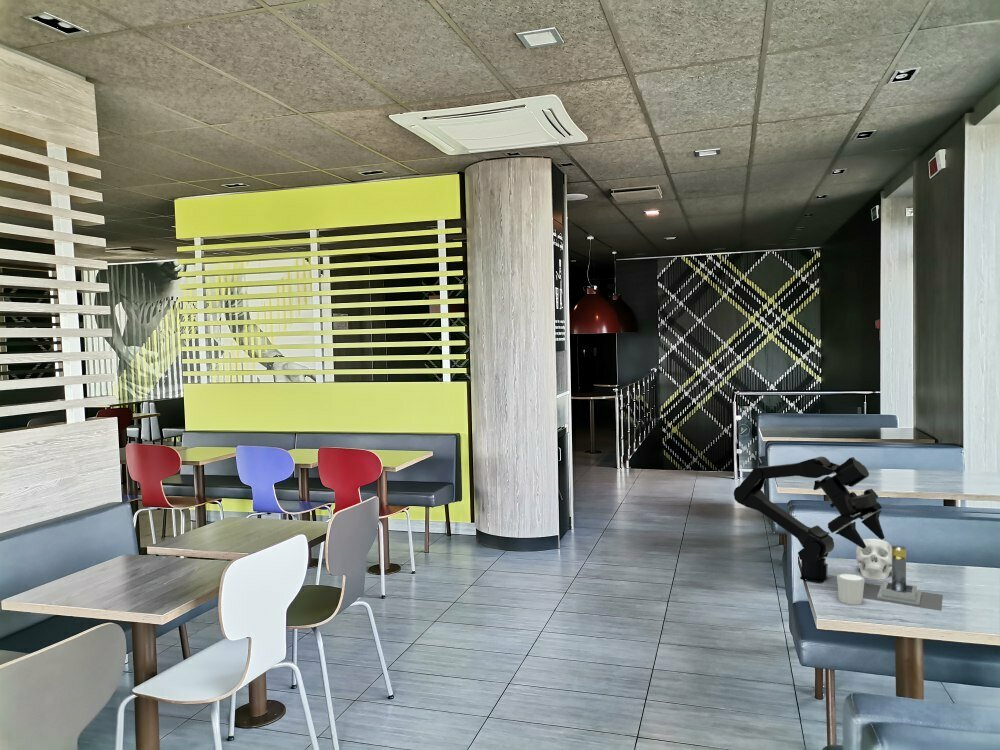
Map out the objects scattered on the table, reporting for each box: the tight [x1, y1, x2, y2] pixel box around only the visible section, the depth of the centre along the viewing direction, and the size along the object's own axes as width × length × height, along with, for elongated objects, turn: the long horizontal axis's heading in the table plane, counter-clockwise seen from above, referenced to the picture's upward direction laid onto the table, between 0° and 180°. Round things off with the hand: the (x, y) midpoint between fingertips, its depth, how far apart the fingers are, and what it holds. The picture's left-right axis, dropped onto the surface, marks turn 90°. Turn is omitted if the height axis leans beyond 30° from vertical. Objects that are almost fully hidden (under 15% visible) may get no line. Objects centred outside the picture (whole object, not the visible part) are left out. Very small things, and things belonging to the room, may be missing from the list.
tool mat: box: [863, 582, 944, 612], centre depth 201 cm, size 22×14×1 cm, turn 57°
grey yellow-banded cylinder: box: [891, 545, 907, 592], centre depth 199 cm, size 4×4×13 cm
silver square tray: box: [877, 581, 922, 606], centre depth 200 cm, size 10×10×3 cm
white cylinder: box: [836, 573, 866, 606], centre depth 197 cm, size 7×7×7 cm
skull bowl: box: [855, 538, 892, 581], centre depth 221 cm, size 10×14×12 cm
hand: (874, 543), depth 204 cm, fingers open, 9 cm apart
